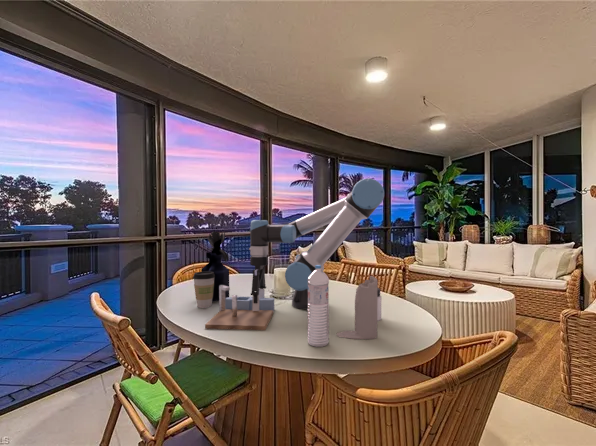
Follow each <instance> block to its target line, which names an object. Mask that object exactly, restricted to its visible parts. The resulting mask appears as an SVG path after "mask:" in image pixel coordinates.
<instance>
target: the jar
mask: <svg viewBox="0 0 596 446" xmlns="http://www.w3.org/2000/svg"><path fill="white" fill-rule="evenodd" d="M377 301H378V308H377V322H379V321H382V296H381V288H379V287H377Z"/></svg>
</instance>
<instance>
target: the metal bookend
mask: <svg viewBox="0 0 596 446" xmlns="http://www.w3.org/2000/svg"><path fill="white" fill-rule="evenodd" d="M377 288H378V278H377V277H375V276H373V275H370V276H369V279H365V280H364V282H363V283H359V284H358V286H357V287H356V290H355V297H354V330H343V331H341V332H336V336H337V337H338V338H346V339H350V340H351V339H352V340H353V339H354V340H373V339H376V338H377V337H378V321H377V308H378V301H377Z"/></svg>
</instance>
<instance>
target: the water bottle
mask: <svg viewBox="0 0 596 446" xmlns="http://www.w3.org/2000/svg"><path fill="white" fill-rule="evenodd" d="M315 269H316V270H315V271H313V272H312V273H311V274H310V275H309V277H308V279H307V280H308V281H307V283H308V304H307V305H308V306H307V307H308V309H306V310H307V344H309V346H311V347H316V348H323V347H326V346H328V344H329V340H330V321H329V320H330V302H329V300H330V298H329V295H330V294H329V288H330V287H329V283H330V278H329V277H328V274H326V273H325V272H324V270H323V271H322V270H321V265H315Z"/></svg>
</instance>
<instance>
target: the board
mask: <svg viewBox="0 0 596 446" xmlns="http://www.w3.org/2000/svg"><path fill="white" fill-rule="evenodd" d="M273 316H274V311H273V310H259V311H252V310H237V316H236V317H232V309H225V310H224V311H218V312H217V313H216V314H214V316H213V317H211V318H210V319H209V320H208V321H207V322H206V323H205V324H204V329H205V330H206V329H207V330H209V329H210V330H244V331H245V330H247V331H248V330H249V331H266V329H267V327H268V325H269V323H270V321H271V319H272V317H273Z"/></svg>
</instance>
